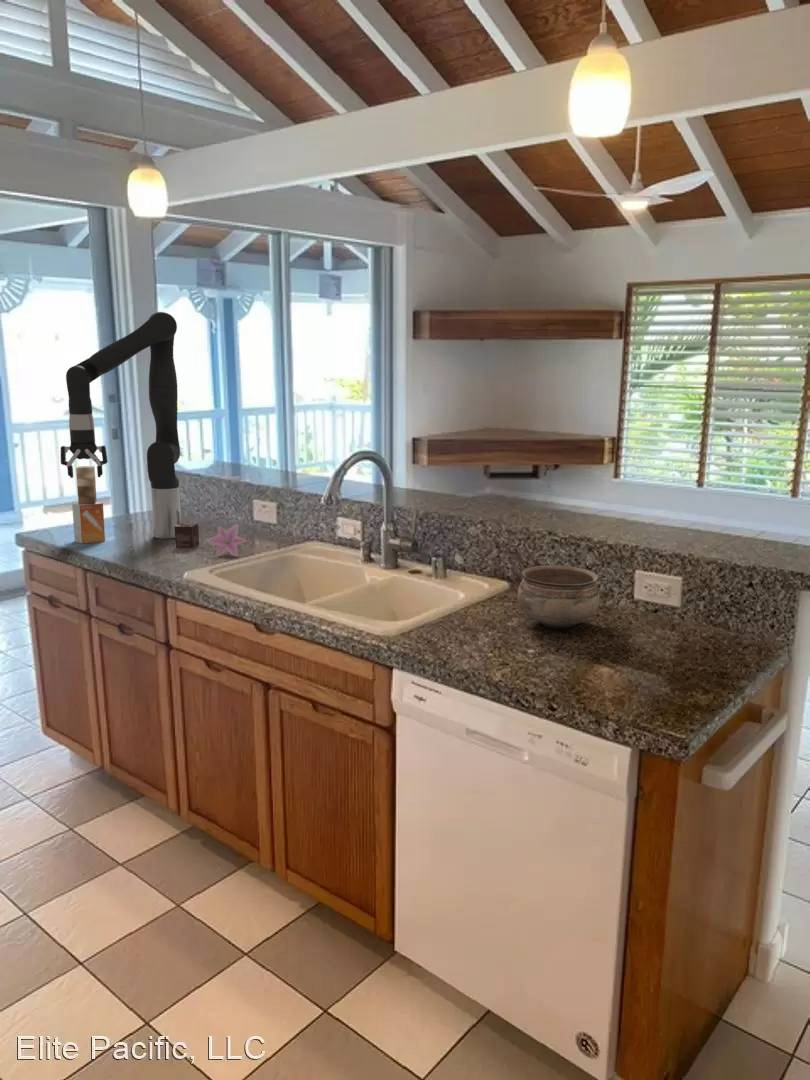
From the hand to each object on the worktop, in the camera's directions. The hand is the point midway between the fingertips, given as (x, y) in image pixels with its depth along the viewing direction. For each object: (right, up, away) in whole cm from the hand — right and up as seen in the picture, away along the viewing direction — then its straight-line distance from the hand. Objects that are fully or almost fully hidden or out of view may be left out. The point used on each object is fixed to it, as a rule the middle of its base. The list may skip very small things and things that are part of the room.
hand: (85, 477), depth 266 cm
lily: (+50, -25, -11) cm, 57 cm away
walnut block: (0, -8, +2) cm, 9 cm away
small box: (0, -21, +5) cm, 22 cm away
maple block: (0, -3, +1) cm, 3 cm away
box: (+34, -23, -1) cm, 41 cm away
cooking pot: (+142, -41, -77) cm, 166 cm away
